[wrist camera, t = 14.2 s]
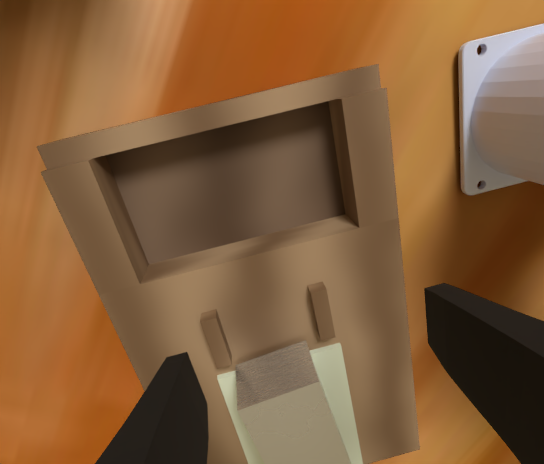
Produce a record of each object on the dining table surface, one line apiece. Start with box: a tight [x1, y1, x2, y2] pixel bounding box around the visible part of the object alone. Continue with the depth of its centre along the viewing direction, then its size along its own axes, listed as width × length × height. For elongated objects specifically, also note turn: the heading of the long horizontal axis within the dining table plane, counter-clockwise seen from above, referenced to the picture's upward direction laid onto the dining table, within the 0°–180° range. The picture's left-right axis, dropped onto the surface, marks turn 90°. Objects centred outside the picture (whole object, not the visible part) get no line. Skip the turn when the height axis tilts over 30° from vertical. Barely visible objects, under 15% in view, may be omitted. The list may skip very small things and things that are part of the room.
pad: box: [217, 343, 363, 464], centre depth 22 cm, size 7×10×1 cm
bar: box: [236, 340, 352, 464], centre depth 20 cm, size 4×11×3 cm, turn 19°
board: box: [37, 64, 420, 464], centre depth 20 cm, size 15×24×4 cm, turn 13°
